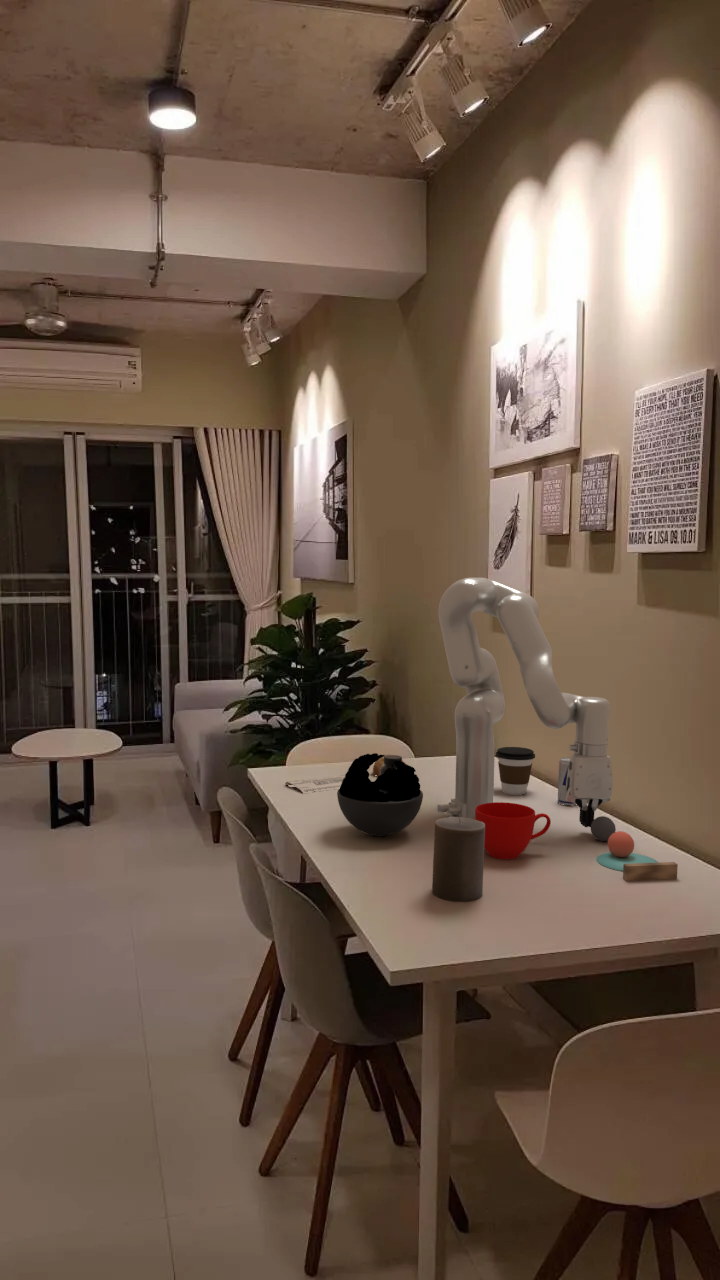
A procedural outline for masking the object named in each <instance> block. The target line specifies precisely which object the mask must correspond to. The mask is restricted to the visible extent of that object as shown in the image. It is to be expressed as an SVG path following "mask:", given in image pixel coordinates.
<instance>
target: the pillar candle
mask: <svg viewBox="0 0 720 1280" xmlns="http://www.w3.org/2000/svg"><path fill="white" fill-rule="evenodd" d="M434 822H435V823H434V835H433V836H434V838H433V859H432V884H431V885H432V886H431V889H432V890H431V891H432V893H433V894H434V895H435V896H436V897H437V898H440V899H444V900H447V901H451V902H454V903H455V902H457V903H458V902H471V901H476V900H478V899H480V898H482V897H483V891H484V890H483V888H484V884H483V883H484V882H483V881H484V861H485V860H484V858H485V849H484V842H485V824H484V823H483V822H481V821H477V820H474V819H469V818H462V817H449V816H448V817H441V818H438V819H436V820H435V821H434Z"/></svg>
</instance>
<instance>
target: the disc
mask: <svg viewBox="0 0 720 1280" xmlns="http://www.w3.org/2000/svg"><path fill="white" fill-rule="evenodd" d="M596 862H597V863H598V864H599V865H601V866H603V867H605V868H608V869H611V870H615V871H619V872H623V864H633V863H660V862H659V861H658V860H656V859H655V858H653V857H650V856H648V855H644V854H641V853H635V852H632V853H631V854H630V855H629V856H627V857H623V858H621V857H617V856H615V855H613V854H612V853H611V852H610V851H609V852H604V853H601V854H599V855H597V857H596Z"/></svg>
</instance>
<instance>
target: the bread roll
mask: <svg viewBox="0 0 720 1280" xmlns="http://www.w3.org/2000/svg"><path fill="white" fill-rule="evenodd" d="M384 755H385V756H387V755H390V754H389V753H388V754H384ZM385 756H384V757H385ZM384 757H382V758H380V759H379V760H378V761H376V762H374V763H373V764H374V765H373V767H372V773H373V775H374V776H375V775H377V776H380V769H381V767H382V766H384V765H385V764H384ZM402 762H404V763H405V764H406V762H405V761H403V760H402Z"/></svg>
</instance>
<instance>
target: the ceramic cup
mask: <svg viewBox="0 0 720 1280" xmlns="http://www.w3.org/2000/svg"><path fill="white" fill-rule="evenodd" d="M540 818H545V819H546V824H545V825H544V827H543V828H542V829H541V830H539V831H538V832H535V833H534V829H535V823H536V822H537V821H538V820H539V819H540ZM475 820H477V821H481V822H483V823H484V824H485V842H484V851H486V853H487V854H488V856H490V857H491V858H495V859H499V860H513V859H514V860H515V859H517V858H519V857H520V855H521V854H523V852H524V851H525V850H526V849H527V847H528V845H529V844H530V842H531V840H533V839H534V840H535V839H536V838H539V837H541V836H543V835H544V834H546V833H547V832H548V830H549V829H550V827H551V822H552V821H551V818H550V816H549V815H548V814H546V813H543V812H542V813H537V814H536V811H535V809H533V808H532V807H531V806H530V807H529V806H528V805H523V804H520V803H514V802H502V801H501V802H498V801H496V802H494V801H493V803H485V804H481V805H479V806H477V807H476V809H475Z"/></svg>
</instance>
